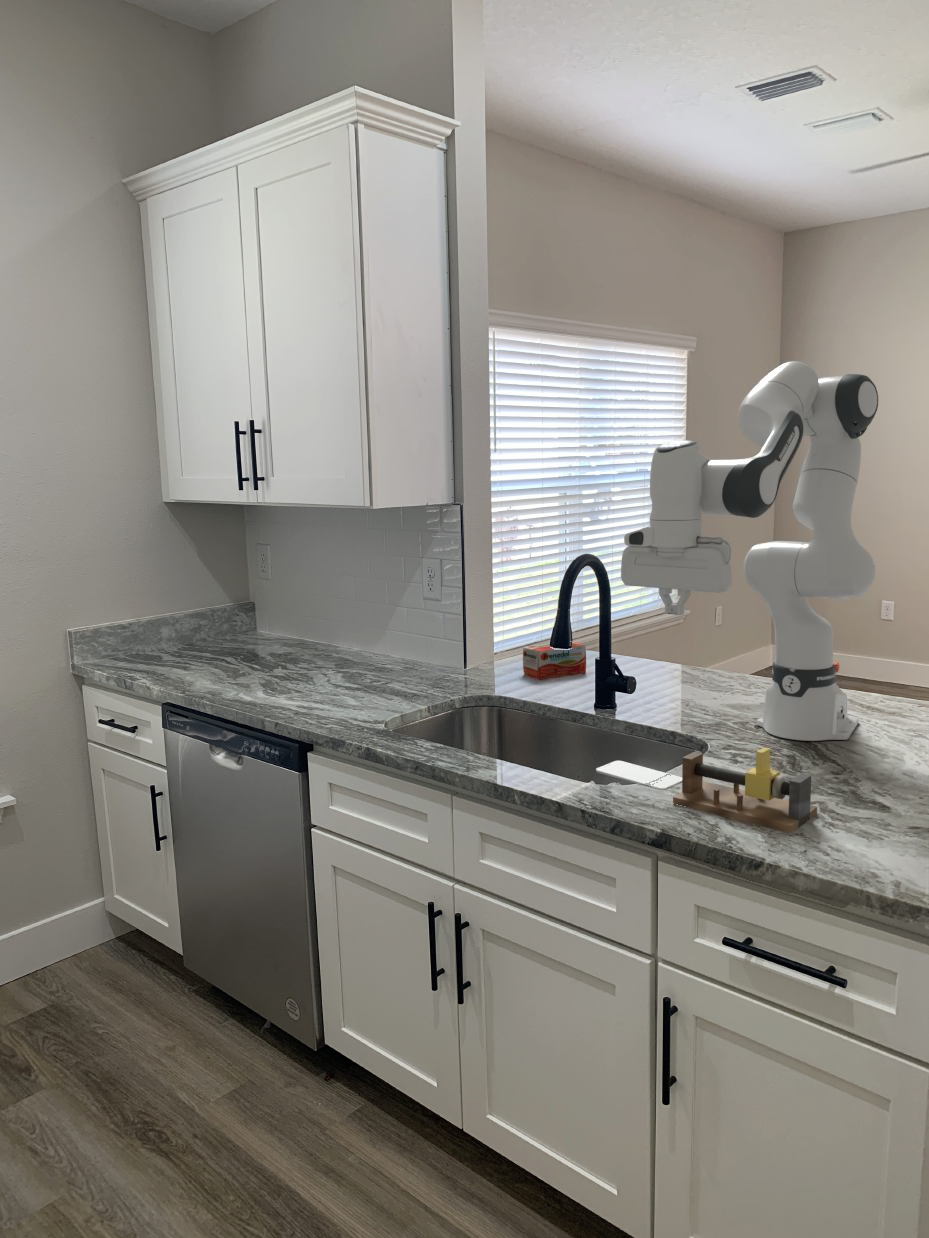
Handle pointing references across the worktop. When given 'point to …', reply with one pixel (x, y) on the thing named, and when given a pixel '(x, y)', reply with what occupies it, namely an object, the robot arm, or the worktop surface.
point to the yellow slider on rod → (737, 803)
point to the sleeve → (760, 777)
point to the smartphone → (638, 774)
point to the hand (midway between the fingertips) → (674, 614)
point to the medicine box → (553, 661)
